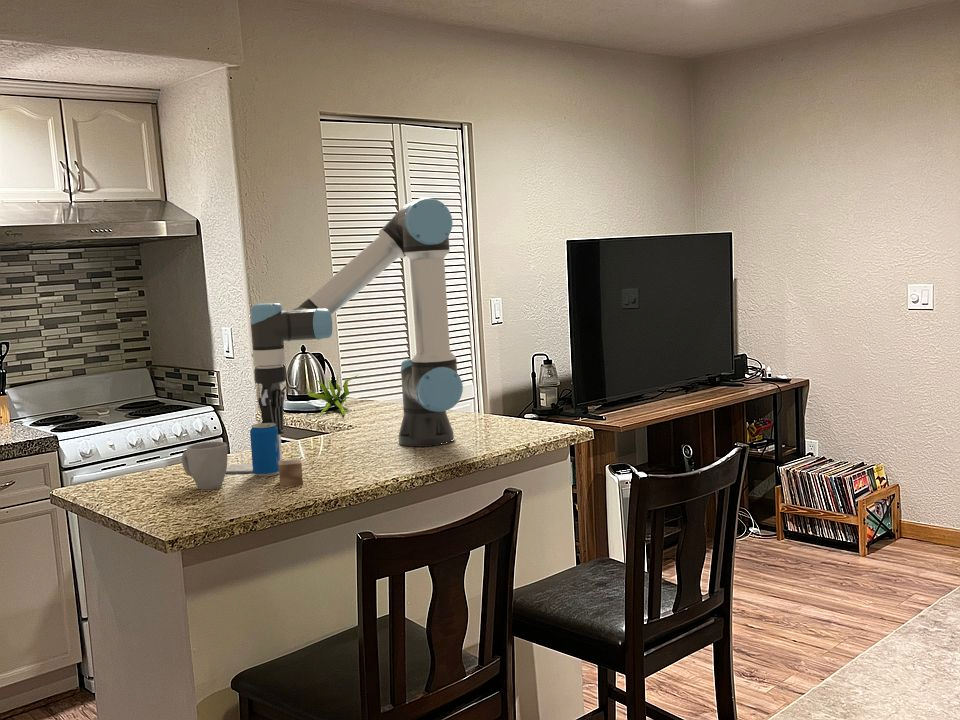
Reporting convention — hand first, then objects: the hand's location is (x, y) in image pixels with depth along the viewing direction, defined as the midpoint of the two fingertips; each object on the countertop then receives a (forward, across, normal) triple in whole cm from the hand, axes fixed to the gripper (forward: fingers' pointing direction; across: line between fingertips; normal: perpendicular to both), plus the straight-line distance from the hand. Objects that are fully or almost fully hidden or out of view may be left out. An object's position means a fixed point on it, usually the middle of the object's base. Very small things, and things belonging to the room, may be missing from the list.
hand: (276, 461), depth 227 cm
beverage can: (+2, +8, 0) cm, 8 cm away
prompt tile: (+2, +2, -8) cm, 8 cm away
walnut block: (+2, +18, +9) cm, 20 cm away
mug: (+2, +19, -11) cm, 22 cm away
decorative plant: (+2, -86, -7) cm, 86 cm away
